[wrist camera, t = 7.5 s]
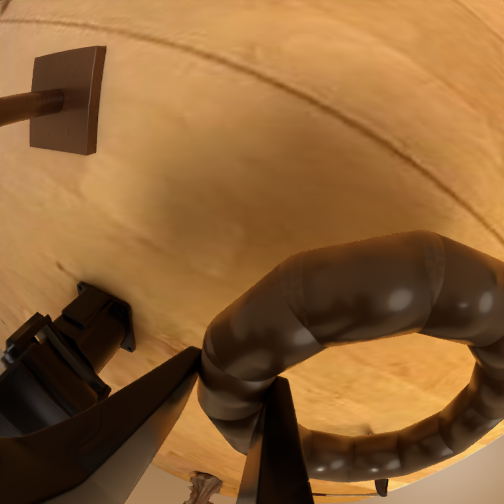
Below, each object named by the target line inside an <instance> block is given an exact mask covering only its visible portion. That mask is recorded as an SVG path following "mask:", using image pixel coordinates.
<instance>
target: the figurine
mask: <svg viewBox="0 0 504 504" xmlns="http://www.w3.org/2000/svg"><path fill="white" fill-rule="evenodd" d="M190 481H191V482H192V484H193V486H190V487H188V488H189V489H191V490H192V493H191V494H190V499H189V501H185V502H184V503H183V504H213V503H211V502H209V501H208V500H209V499H210V496H211V495H212V494H214V493H217V494H219V493H220V487H222V481H220V480H218V479H217V478H216V477H214V476H212V475H209V474H206V473H198V474H197V475H196V476H194V477H190Z"/></svg>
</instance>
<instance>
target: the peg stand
mask: <svg viewBox="0 0 504 504" xmlns="http://www.w3.org/2000/svg"><path fill="white" fill-rule="evenodd" d="M105 51H106V47H104V46H92V47H85V48H79V49H73V50H68V51H63V52H58V53H53V54H49V55H45V56H41V57H37V58H35V61H34V69H33V78H32V89H31V92H28V93H22V94H16V95H11V96H6V97H1V98H0V127H1V126H4V125H8V124H12V123H16V122H20V121H24V120H28V119H30V147H36V148H43V149H50V150H56V151H63V152H69V153H75V154H81V155H90V154H93V153H96V135H97V118H98V106H99V95H100V86H101V78H102V70H103V64H104V57H105Z"/></svg>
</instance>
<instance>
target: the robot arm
mask: <svg viewBox="0 0 504 504" xmlns="http://www.w3.org/2000/svg"><path fill="white" fill-rule="evenodd" d="M77 289H78V294H79V296H78V297H77V298H76V299H74V300H73V301H72V302H71V303H70V304H69V305H68V306H67V307H65V308H64V309H63V310H62V314H61V315H60V316H59V317H58V318H57V319H56V320H54V321H53V322H52V320H51V317H50V316H49V315H48V314H47V315H46V316H45V317H44V316H43V315H41V314H40V313H38V312H37V313H36V314H34V315H33V316H32V317H31V318H30V319H29V320H28V321H27V322H25V323H24V324H23V325H22V326H21V327H20V328H19V329H18V330H17V331H16V332H15V333H13V334H12V335H11V336H10V337H9V338H8V339H7V340H6V350H5V351H4V352H3V353H4V355H3V356H2V358H1V359H0V361H1V362H2V363H3V365H4V367H3V368H2V369H1V370H0V504H124V503H125V501H126V500H127V498H128V497H129V495H130V494H131V492H132V491H133V489H134V488H135V486H136V485H137V483H138V481H139V480H140V478H141V477H142V475H143V474H144V472H145V471H146V469H147V467H148V466H149V464H150V463H151V461H152V460H153V458H154V457H155V455H156V453H157V452H158V450H159V449H160V447H161V445H162V444H163V442H164V441H165V439H166V438H167V436H168V434H169V433H170V431H171V430H172V428H173V426H174V425H175V423H176V422H177V420H178V418H179V417H180V415H181V413H182V411H183V409H184V407H185V405H186V403H187V401H188V398H189V396H190V394H191V392H192V389H193V387H194V385H195V383H196V380H197V378H198V376H199V370H200V362H201V355H202V349H200V348H197V347H194V346H189V347H188V348H186V349H185V350H183V351H182V352H180V353H178V354H177V355H175V356H174V357H172V358H171V359H169V360H168V361H166V362H164V363H163V364H161V365H160V366H158V367H156V368H155V369H153V370H152V371H150V372H149V373H147V374H145V375H144V376H142V377H140V378H139V379H137V380H136V381H134V382H132V383H131V384H129V385H127V386H126V387H124V388H123V389H121V390H119V391H118V392H116V393H114V394H113V395H111V396H109V394H110V392H111V388H110V387H109V386H108V385H106V384H105V383H104V382H103V381H102V380H101V379H100V378H99V376H98V374H99V372H100V371H101V370H102V369H103V367H104V366H105V365H106V364H107V363H108V361H109V360H110V359H111V358H112V356H113V355H114V354H115V353H116V352H117V350H118V349H119V348H120V347H121V348H123V349H125V350H127V351H129V352H134V350H135V349H136V348H135V340H134V332H133V324H132V315H131V307H130V306H129V304H127V303H126V302H124V301H121V300H119V299H117V298H115V297H113V296H110V295H108V294H106V293H104V292H102V291H100V290H98V289H96V288H94V287H92V286H89V285H87V284H85V283H83V282H79V283H78V284H77ZM35 335H36V336H37V337H38V338H39V340H40V341H39V342H38V340H37V339H36V338H35V337H34V336H35ZM108 396H109V397H108ZM308 480H309V477H308V472H307V467H306V462H305V457H304V452H303V447H302V443H301V438H300V433H299V428H298V423H297V419H296V414H295V409H294V404H293V399H292V395H291V390H290V385H289V381H288V379H287V378H284V377H280V376H276V378H275V380H274V381H273V383H272V385H271V387H270V389H269V391H268V393H267V396H266V398H265V400H264V402H263V405H262V408H261V411H260V413H259V416H258V419H257V422H256V425H255V427H254V430H253V433H252V436H251V440H250V444H249V449H248V454H247V458H246V463H245V467H244V471H243V476H242V480H241V484H240V489H239V493H238V497H237V502H236V504H314V500H313V495H312V491H311V486H310V482H307V481H308Z"/></svg>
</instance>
